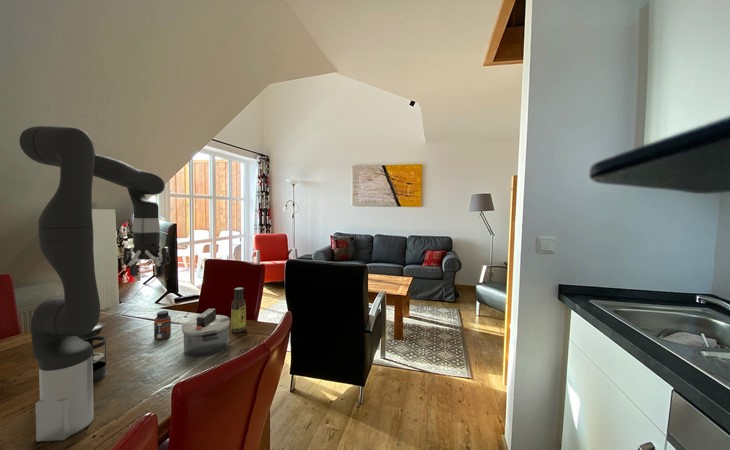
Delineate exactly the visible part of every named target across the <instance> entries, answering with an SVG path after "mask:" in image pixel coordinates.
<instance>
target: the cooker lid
mask: <svg viewBox="0 0 730 450" xmlns="http://www.w3.org/2000/svg"><path fill="white" fill-rule="evenodd" d="M229 323H230V324H231V317H229V316H227V315H222V314H217V308H208V309H206V310H205V311H204V312H201V314H198V316H197V317H195V318H191V319H189V320H187V321H186V322H184V323H183V324H182V325H181V331H182V333H183V332H184V333H187V334H205V333H211V332H215V331H218V330H221V329H223V328H225V327H226V326H228V325H229ZM229 326H230V325H229ZM184 333H183V334H184Z"/></svg>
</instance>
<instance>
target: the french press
mask: <svg viewBox="0 0 730 450" xmlns="http://www.w3.org/2000/svg"><path fill="white" fill-rule="evenodd" d="M106 326H107V323H106V322H102V321H101V322H100V321H98V323H97V325H96V326H95V327H94V329H93V330H92V331H90V332H89V333H87V334H84V335H80V336H78V337H79V338H80V339H82V340H84V341H86V342H88V343H90V344H91V346H92V362H93V383H95V382H98V381H100V380H102V379H103V378H104V377H106V376H107V375H108V373H109V371H108V369H107V368H108V367H107V366H108V365H107V364H108V363H107V337H106V336H102V335H99V334H100V333H101V332H102V331H103V329H104V328H105V327H106ZM94 341H101V342H99V343H96V344H94ZM103 346H104V352H94V350H96V349H98V348H99V349H100V348H101V347H103ZM104 358H105V361H104Z"/></svg>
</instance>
